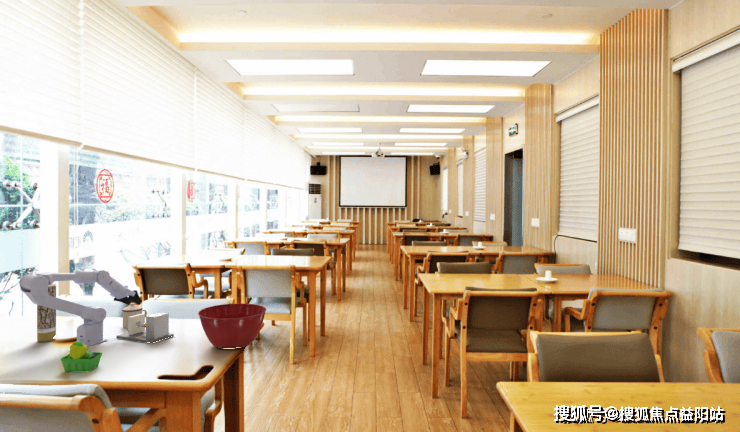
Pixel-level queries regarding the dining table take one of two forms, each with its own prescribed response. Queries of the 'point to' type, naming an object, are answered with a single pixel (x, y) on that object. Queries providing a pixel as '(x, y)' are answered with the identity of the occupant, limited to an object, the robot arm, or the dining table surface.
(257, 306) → the mixing bowl
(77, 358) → the fruit basket
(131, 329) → the collar
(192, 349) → the dining table surface
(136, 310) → the teacup with lid
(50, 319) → the paper tube
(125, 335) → the base plate
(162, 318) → the pipe stand
